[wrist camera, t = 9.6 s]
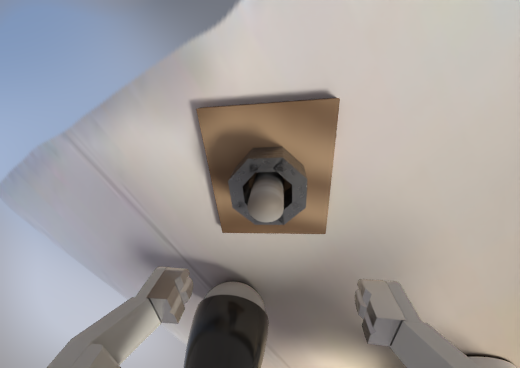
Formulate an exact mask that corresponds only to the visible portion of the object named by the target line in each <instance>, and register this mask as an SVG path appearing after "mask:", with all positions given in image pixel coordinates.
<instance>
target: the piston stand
mask: <svg viewBox="0 0 520 368" xmlns="http://www.w3.org/2000/svg"><path fill="white" fill-rule="evenodd" d="M339 102H340V99H339V98H327V99H314V100H300V101H286V102H272V103H258V104H245V105H231V106H217V107H203V108H198V109H196V110H197V114H198V119H199V124H200V129H201V133H202V138H203V143H204V147H205V152H206V157H207V162H208V166H209V171H210V176H211V181H212V185H213V190H214V195H215V199H216V204H217V209H218V214H219V218H220V223H221V228H222V233H290V234H325V233H326V224H327V215H328V205H329V196H330V186H331V177H332V168H333V158H334V149H335V140H336V130H337V121H338V111H339ZM281 146H283V147H284V148H285V149H286V150H287V151H288V152H289V153H290V154H291V155H293V156H294V157H295V158H296V159H297V160H298V161H299V162H300V163H301V164H302V165H304V169H305V172H306V176H307V199H306V208H305V209H304V210H302V211H301V212H300V213H299V214H297V215H296V216H295V217H294V218H292V219H291V220H290V221H288V222H287V223H286V224H285V225H255V224H253V223H252V222H251V221H249V220H248V219H247V218H245V217H244V216H243V215H241V214H240V213H239V212H237V211H236V210H235V209H233V208H232V202H231V196H230V190H229V184H228V180H229V178H230V176H231V175H232V173H233V171H234V169H235V168H236V166H237V165H238V164H239V163H240V162H241V161H242V160H243V159H244V157H245V156H246V155H247V154H248V153H249V152H250V151H251V149H252V148H258V147H281ZM249 186H250V188H251V189H252V190H251V194H250V197H249V201H248V205H247V208H248V212H249V214H250V215H251V216H252V217H253V218H254V219H256V220H258V221H260V222H273V221H275V220H277V219H278V218H280V217H281V215H282V214H283V210H284V194H283V193H284V192H285V191H286V190H287V189H289V188H290V187H291V184H290V183H289V182H288V181H287V180H286V179H285V178H283V177H282V176H281V175H280V174H279V173H278V172H255V174H254V175H253V176H252V177H251V178H250V179H249Z"/></svg>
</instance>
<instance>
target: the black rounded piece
mask: <svg viewBox="0 0 520 368" xmlns="http://www.w3.org/2000/svg"><path fill="white" fill-rule="evenodd" d="M268 326H269V320H268V316H267V314H266V310H265V306H264V303H263V301H262V298H261V297H260V295H259V294H258V293H257V292H256V291H255V290H254V289H253V288H252V287H250V286H248V285H246V284H244V283H240V282H225V283H222V284H219V285H217V286H216V287H214V288H213V289H212V290H211V291H210V292H209V293H208V294H207V295H206V296H205V298H204V299H203V300H202V301H201V302H200V303H199V305H198V307H197V309H196V312H195V315H194V318H193V322H192V326H191V330H190V334H189V339H188V344H187V349H186V355H185V361H184V368H261V365H262V361H263V357H264V352H265V347H266V341H267V335H268Z"/></svg>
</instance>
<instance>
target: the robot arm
mask: <svg viewBox="0 0 520 368" xmlns="http://www.w3.org/2000/svg"><path fill="white" fill-rule="evenodd" d="M189 274H190V272H189V270H188V269H183V268H171V267H158V268H156V269H155V271H154V272H153V273H152V275H151V276H150V277H149V279H148V280H147V282H146V283H145V284H144V286H143V287H142V288H141V290H140V291H139V293H138V294H137V295H136V297H132V298H130V299H129V300H127V301H126V302H124V303H123V304H122V305H120V306H119V307H117V308H116V309H114V310H113V311H111V312H110V313H109V314H107V315H106V316H104V317H103V318H101V319H100V320H98V321H97V322H96V323H94V324H93V325H91V326H90V327H88V328H87V329H85V330H84V331H82V332H81V333H79V334H78V335H77V336H75V337H74V338H72V339H71V340H70V341H69V342H68V343H67V345H66V346H65V347H64V348H63V349H62V350H61V352H60V353H59V354H58V355H57V356H56V357H55V359H54V360H53V361H52V362H51V363H50V364H49V366H48V367H47V368H121V367H120V366H119V365H120V364H121V363H122V362H123V361H124V360H125V359H126V358H127V357H128V356H129V355H130V354H131V353H132V352H133V351H134V350H135V349H136V348H137V347H138V346H139V345H140V344H141V343H142V342H143V341H144V340H145V339H146V338H147V337H148V336H149V335H150V334H151V333H152V332H153V331H154V330H155V329H156V328H157V327H158V326H159V325H160V324H161V323H175V324H178V323H179V321H180V318H181V316H182V314H183V312H184V310H185V307H184V304H185V303H186V302H187V301H188V300H189V299H190V296H191V294H192V290H193V281H192V279H191V278H190V277H188V276H189ZM357 285H358V288H359V289H358V290H356V292H355V304H356V309H357V312H358V314H359V316H360V317H361V318H362V319H363V323H362V328H363V331H364V334H365V337H366V340H367V343H368V344H374V345H381V346H389V347H390V348H391V349H392V351H393V352H394V353H395V354H396V356H397V357H398V358H399V359H400V360H401V362H402V363H403V364H404V365H405V366H406V368H517V367H516V366H515V365H513V364H512V363H510V362H507V361H505V360H501V359H496V358H490V357H467V356H466V355H465V354H463V353H462V352H461V351H460V350H459V349H457V348H456V347H455V346H454V345H453V344H451V343H450V342H449V341H448V340H447V339H445V338H444V337H443V336H442V335H441V334H439V333H438V332H437V331H436V330H435V329H433V328H432V327H431V326H430V325H429V324H427V323H423V322H422V321H421V319H420V317H419V315H418V314H417V312H416V310H415V309H414V307H413V305H412V304H411V302H410V300H409V298H408V297H407V295H406V293H405V292H404V290H403V288H402V287H401V285H400V284H399V283H398V282H397V281H383V280H367V279H360V280H358V284H357Z"/></svg>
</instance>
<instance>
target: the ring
mask: <svg viewBox="0 0 520 368" xmlns="http://www.w3.org/2000/svg"><path fill="white" fill-rule="evenodd" d="M255 172H278V173H279V174H280V175H281V176H282V177H283V178H285V179H286V180H287V181H288V182H289V183H290V184H291V187H290V188H289V189H287V190H286V191H285V192H284V193H283V194H284V210H283V214H282V215H281V217H280V218H278V219H277V220H275V221H273V222H260V221H258V220H256V219H254V218H253V217H252V216H251V215H250V214H249V212H248V208H247V205H248V201H249V197H250V194H251V190H252V189H251V188H250V186H249V179H250V178H251V177H252V176H253V175H254V174H255ZM228 184H229V190H230V196H231V202H232V208H233V209H235V210H236V211H237V212H239V213H240V214H241V215H243V216H244V217H245V218H247V219H248V220H249V221H251V222H252V223H253V224H255V225H285V224H286V223H287V222H288V221H290V220H291V219H292V218H294V217H295V216H296V215H297V214H299V213H300V212H301V211H302V210H304V209H305V208H306V199H307V176H306V172H305V169H304V165H302V164H301V163H300V162H299V161H298V160H297V159H296V158H295V157H294V156H293V155H291V154H290V153H289V152H288V151H287V150H286V149H285V148H284V147H283V146H281V147H258V148H252V149H251V151H250V152H249V153H248V154H247V155H246V156H245V157H244V159H243V160H242V161H241V162H240V163H239V164H238V165H237V166H236V168H235V169H234V171H233V173H232V175H231V176H230V178H229V180H228Z"/></svg>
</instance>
